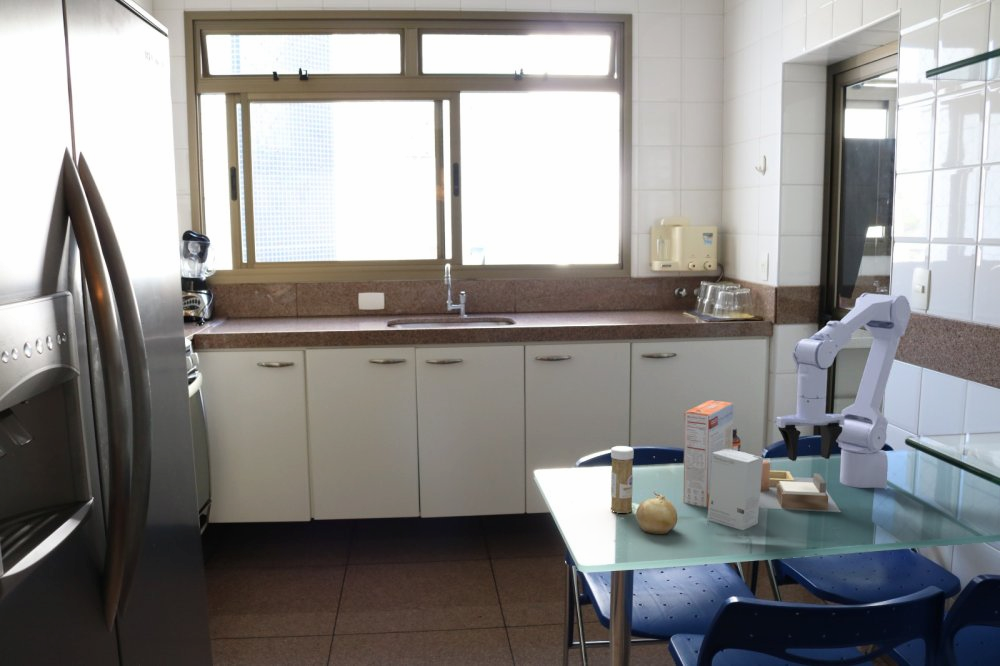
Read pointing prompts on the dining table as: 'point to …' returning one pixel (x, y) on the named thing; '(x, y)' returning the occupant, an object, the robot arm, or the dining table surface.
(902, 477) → the dining table surface
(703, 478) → the cracker box
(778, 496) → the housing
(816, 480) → the lid
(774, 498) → the board
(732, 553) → the dining table surface
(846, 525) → the dining table surface
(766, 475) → the dowel pin
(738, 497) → the skincare box
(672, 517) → the onion
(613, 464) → the sprinkles bottle
